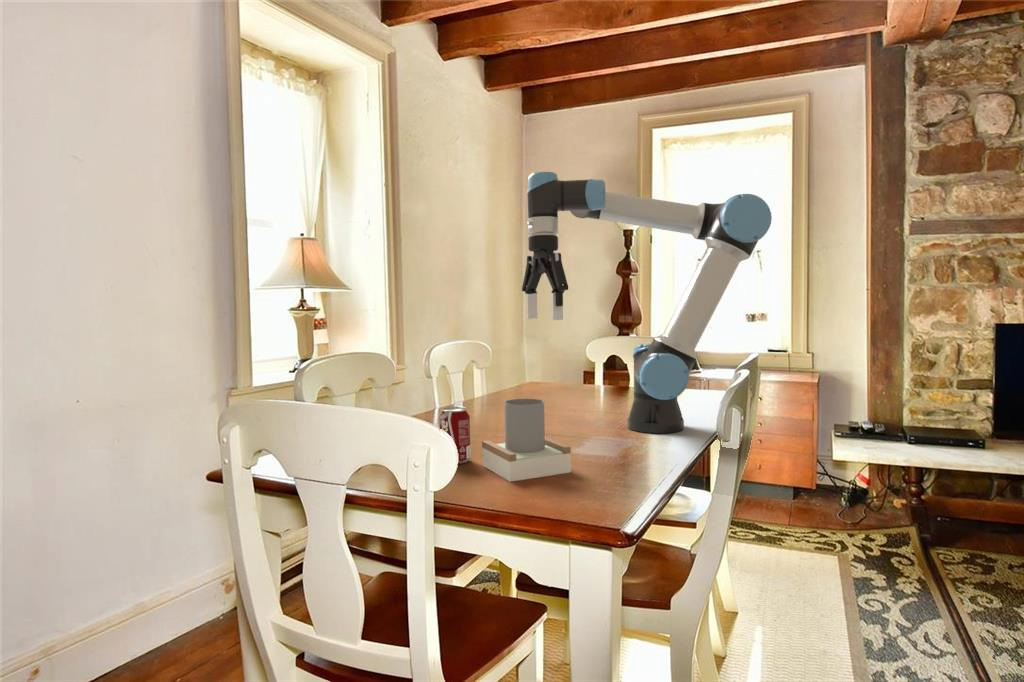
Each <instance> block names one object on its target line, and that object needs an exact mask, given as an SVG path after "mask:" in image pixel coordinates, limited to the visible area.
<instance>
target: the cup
mask: <svg viewBox="0 0 1024 682" xmlns="http://www.w3.org/2000/svg"><path fill="white" fill-rule="evenodd" d="M545 426H546V425H545V401H544V400H542V399H538V398H513V399H508V400H505V401H504V443H505V449H507V450H509V451H511V452H515V453H533V452H539V451H542V450H544V448H545V437H546V434H545V433H546V432H545V430H546V429H545Z"/></svg>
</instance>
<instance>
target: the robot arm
mask: <svg viewBox="0 0 1024 682" xmlns="http://www.w3.org/2000/svg"><path fill="white" fill-rule="evenodd" d="M564 211H565V212H570V213H571V214H572V215H573V216H574V217H576V218H579V219H587V218H589V219H592V220H593V219H594V220H603V221H606V222H607V221H608V222H614V223H620V224H626V225H632V226H638V227H644V228H651V229H657V230H662V231H668V232H669V231H670V232H674V233H675V232H676V233H681V234H689V235H692V237H693V238H694V240H699V241H700V240H701V241H704V242H705V244H706V249H705V251H704V253H703V255H702V256H701V259H700V261H699V263H698V265H697V266H696V269H695V270H694V273H693V275H692V277H691V278H690V280H689V283H688V284H687V287H686V288H685V291H684V292H683V294H682V295H681V296H682V297H681V298H680V300H679V302H678V304H677V306H676V308H675V310H674V312H673V314H672V316H671V318H670V319H669V322H668V324H667V325H666V327H665V329H664V331H663V333H662V334H659V335H657V336H654V337H653V339H652V341H651V343H641V344H636V345H635V346H634V348H633V354H632V358H633V401H632V404H631V407H630V410H629V415H628V417H627V428H628V429H629V430H632V431H635V432H638V433H639V432H640V433H650V434H669V433H671V434H672V433H677V432H682V431H683V430H684V429H685V420H684V418H683V414H682V410H681V407H680V405H679V402H678V397H679V396H680V395H681V394H683V392H685V390H686V389H687V387H688V384H689V381H690V372H691V371H692V369H693V367H694V365H695V363H696V361H697V360H698V357H697V353H696V347H697V345H698V343H699V342H700V340H701V338H702V336H703V333H704V332H705V330H706V328H707V327H708V325H709V322H710V320H711V319H712V317H713V315H714V314H715V313H714V312H715V311H716V309H717V307H718V305H719V303H720V301H721V299H722V298H723V295H724V293H725V291H726V290H727V288H728V286H729V284H730V283H731V282H730V281H732V278H733V276H734V274H735V273H736V270H737V269H738V266H739V264H740V263H741V262H743V261H746V260H748V259H749V258H750V257H751V256H752V253H753V252H754V250H755V249H756V246H757V244H758V242H759V240H761V239H762V238H764V237H765V235H766V234H767V233H768V231H769V229H770V228H771V224H772V218H773V217H772V211H771V209H770V206H769V205H768V203H767V202H766V201H765V200H764V199H763V198H762V197H760V196H758V195H756V194H752V193H739V194H735V195H733V196H731V197H729V198H728V199H727V200H726V201H725V202H722V203H707V202H702V203H700V204H698V205H693V204H689V203H682V202H681V203H680V202H676V201H675V202H674V201H668V200H661V199H656V198H649V197H642V196H636V195H629V194H624V193H623V194H622V193H617V192H611V191H606V182H605V180H604V179H593V178H590V179H575V180H574V179H573V180H571V179H570V180H561V179H559V178H558V174H557V173H556V172H553V171H536V172H532V173H531V174H530V175H528V178H527V217H528V219H527V220H528V221H527V223H526V224H527V226H528V234H529V235H530V236H529V237H528V244H527V245H528V251H530V252H533V254H532V255H527V257H526V267H525V273H524V276H523V282H522V287H521V292H524V293H525V294H526V319H527V320H528V319H529V320H531V319H532V320H533V319H534V320H535V319H538V291H537V288H538V286H539V283H540V280H541V278H542V275H544V274H545V275H546V278H547V279H548V281H549V284H550V286H551V289H552V290H551V292H550V293H551V321H561V320H562V321H563V320H564V293H565V291H568V290H569V284H568V281H567V276H566V273H565V269H564V265H563V263H562V253H561V252H556V251H558V250H559V237H558V236H557V234H559V216H558V212H564Z"/></svg>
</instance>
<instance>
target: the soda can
mask: <svg viewBox="0 0 1024 682" xmlns="http://www.w3.org/2000/svg"><path fill="white" fill-rule="evenodd" d="M467 410H468V408H467V407H464V406H446V407H442V408H441V414H440V415H439V416H438V417H439V418H438V422H439V430H440V429H442V430H444V431H445V432H447V433H448V434H449V435H450V436H451V437H452V438H453V440H454V442H455V444H456V446H457V449H458V453H459V464H458V465H462V464H466V463H467V462H469V461H470V460H471V459H472V458H471V455H472V454H471V422H470V421H471V419H470V418H471V417H470V414H469V413H468V411H467Z"/></svg>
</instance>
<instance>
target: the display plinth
mask: <svg viewBox="0 0 1024 682" xmlns="http://www.w3.org/2000/svg"><path fill="white" fill-rule="evenodd" d="M571 452H572V451H571V446H570V445H567V444H564V443H562V442H559V441H557V440H554V439H552V438H550V437H547V436H545V448H544V450H542V451H539V452H533V453H515V452H511V451H509V450H507V449H505V442H503V443H494V442H493V441H491V440H482V441H481V459H482V461H481V462H482V463H481V464H482V467H484V468H486V469H488V470H490V471H491V472H493V473H494V474H496V475H498V476H499V477H501V478H502V479H504V480H506V481H509V483H510V482H518V481H524V480H530V479H537V478H542V477H550V476H555V475H556V476H557V475H562V474H569V473H572V472H571V471H572V468H571V466H572V465H571V463H572V461H571V459H572V458H571Z"/></svg>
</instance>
